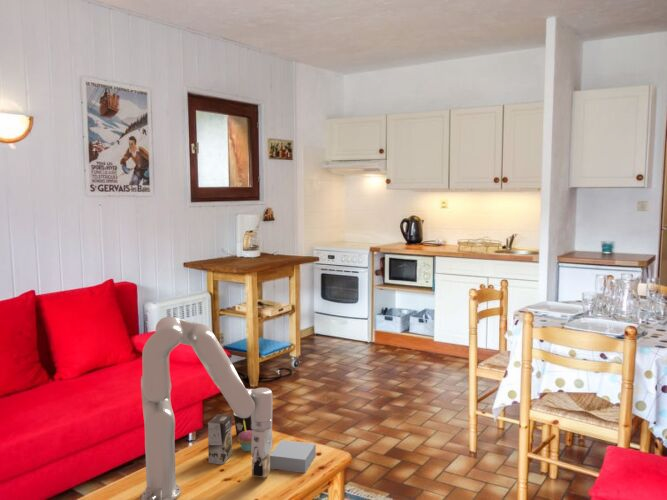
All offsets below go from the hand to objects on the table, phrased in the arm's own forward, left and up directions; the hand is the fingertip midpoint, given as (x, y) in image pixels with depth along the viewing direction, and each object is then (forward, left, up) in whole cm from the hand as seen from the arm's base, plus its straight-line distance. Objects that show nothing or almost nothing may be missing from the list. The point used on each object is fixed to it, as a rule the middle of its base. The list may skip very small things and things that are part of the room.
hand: (261, 471), depth 212 cm
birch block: (0, 0, -1) cm, 1 cm away
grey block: (+14, -8, -2) cm, 16 cm away
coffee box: (+10, +20, -3) cm, 23 cm away
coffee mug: (+31, +18, -3) cm, 37 cm away
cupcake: (+21, +13, -3) cm, 25 cm away
